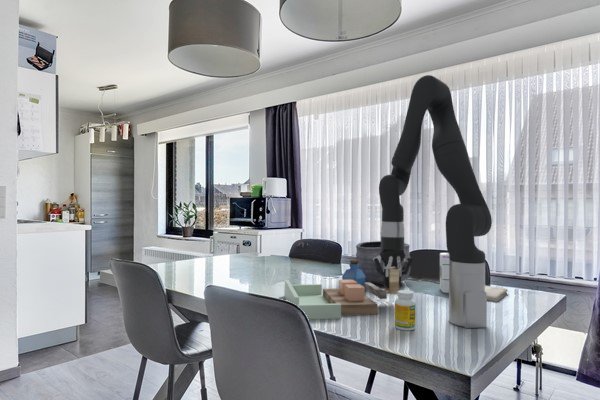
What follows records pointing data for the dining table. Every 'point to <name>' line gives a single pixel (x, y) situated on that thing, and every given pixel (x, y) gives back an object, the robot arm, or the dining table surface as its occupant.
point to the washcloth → (495, 293)
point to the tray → (311, 301)
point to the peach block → (355, 292)
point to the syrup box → (444, 272)
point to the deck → (350, 303)
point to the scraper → (383, 292)
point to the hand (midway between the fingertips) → (392, 287)
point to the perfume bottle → (354, 273)
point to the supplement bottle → (405, 310)
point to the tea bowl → (366, 263)
